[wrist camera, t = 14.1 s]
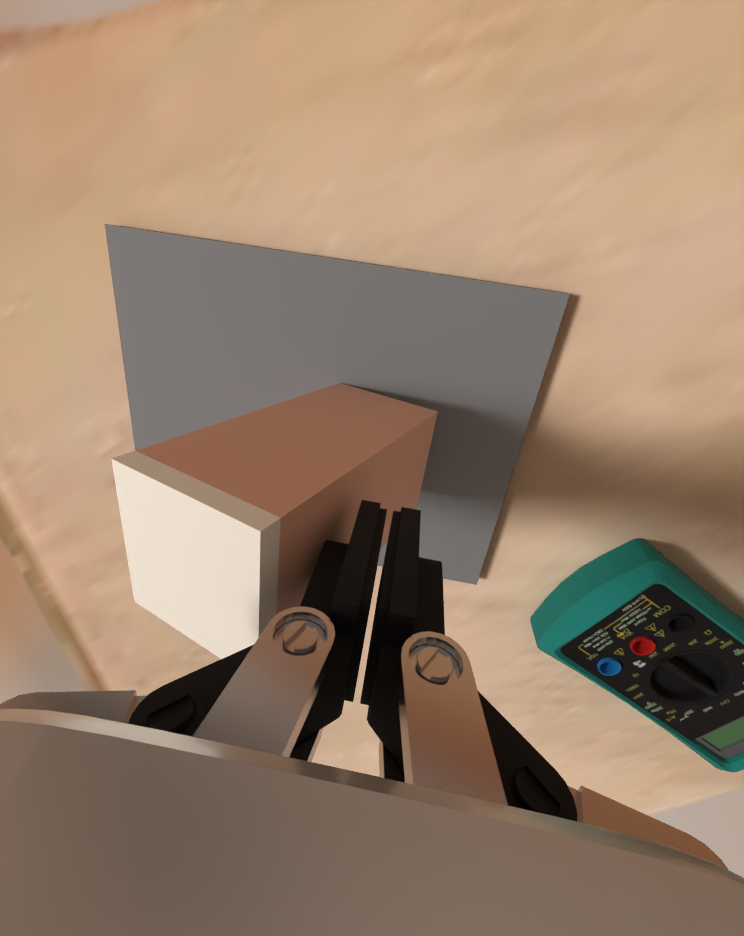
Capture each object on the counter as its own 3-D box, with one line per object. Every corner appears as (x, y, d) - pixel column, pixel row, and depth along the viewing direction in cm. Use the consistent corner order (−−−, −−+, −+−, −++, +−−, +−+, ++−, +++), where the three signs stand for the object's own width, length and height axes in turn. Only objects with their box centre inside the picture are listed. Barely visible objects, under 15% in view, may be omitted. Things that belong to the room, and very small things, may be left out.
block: (437, 411, 16) (260, 531, 8) (416, 508, 18) (257, 683, 10) (339, 382, 18) (111, 458, 10) (330, 475, 20) (134, 601, 12)
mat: (565, 292, 16) (569, 293, 15) (475, 577, 22) (476, 584, 22) (115, 225, 17) (104, 224, 16) (151, 514, 23) (144, 520, 23)
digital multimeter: (626, 522, 20) (655, 560, 18) (825, 674, 22) (877, 728, 20) (517, 607, 23) (527, 650, 21) (701, 733, 26) (731, 786, 23)
